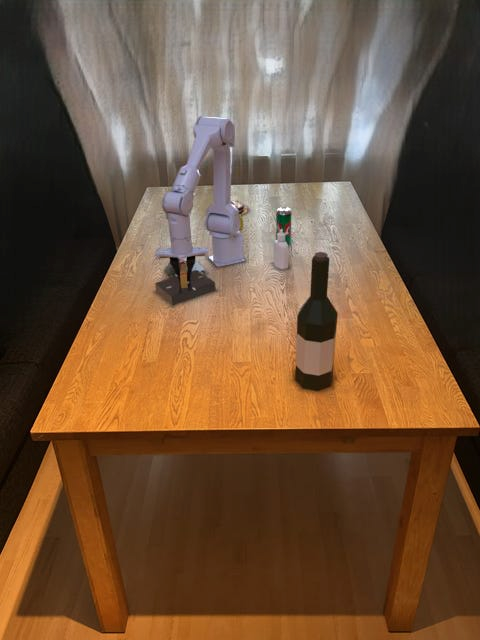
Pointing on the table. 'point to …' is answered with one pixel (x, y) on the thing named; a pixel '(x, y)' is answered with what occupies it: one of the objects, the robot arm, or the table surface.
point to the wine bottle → (316, 331)
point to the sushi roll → (239, 206)
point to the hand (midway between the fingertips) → (184, 280)
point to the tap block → (196, 288)
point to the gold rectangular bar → (184, 276)
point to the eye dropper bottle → (281, 251)
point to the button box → (172, 271)
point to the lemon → (241, 222)
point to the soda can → (284, 222)
